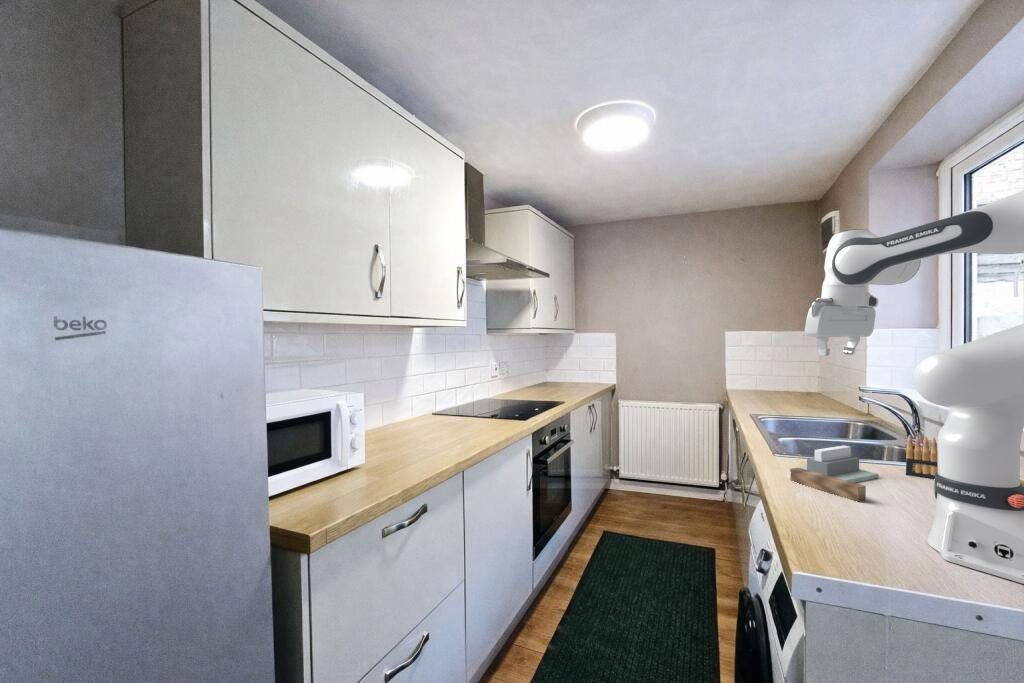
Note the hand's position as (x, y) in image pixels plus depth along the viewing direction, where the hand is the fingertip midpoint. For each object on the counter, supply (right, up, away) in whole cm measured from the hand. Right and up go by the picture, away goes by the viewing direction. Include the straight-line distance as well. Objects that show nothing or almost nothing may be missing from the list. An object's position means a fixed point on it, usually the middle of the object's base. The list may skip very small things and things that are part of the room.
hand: (836, 355), depth 112 cm
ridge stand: (+16, -37, +24) cm, 46 cm away
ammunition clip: (+41, -36, +20) cm, 58 cm away
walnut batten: (+5, -37, +11) cm, 39 cm away
